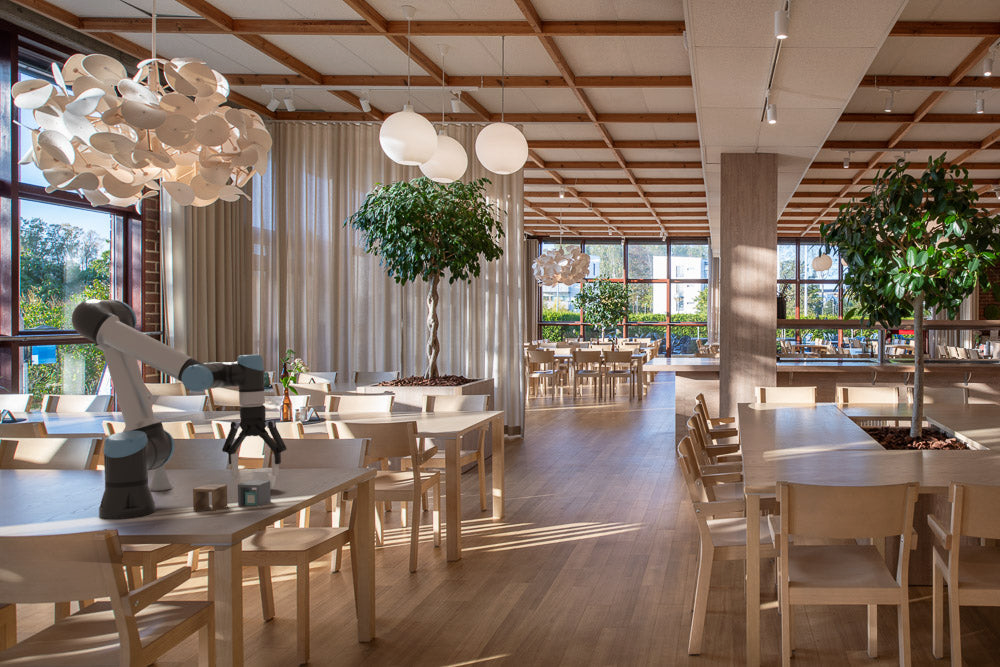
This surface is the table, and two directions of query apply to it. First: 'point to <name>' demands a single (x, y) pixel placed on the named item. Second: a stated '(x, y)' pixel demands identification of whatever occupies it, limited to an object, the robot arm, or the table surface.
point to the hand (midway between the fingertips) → (255, 475)
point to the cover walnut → (203, 496)
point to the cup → (264, 475)
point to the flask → (160, 480)
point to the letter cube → (251, 497)
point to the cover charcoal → (262, 491)
